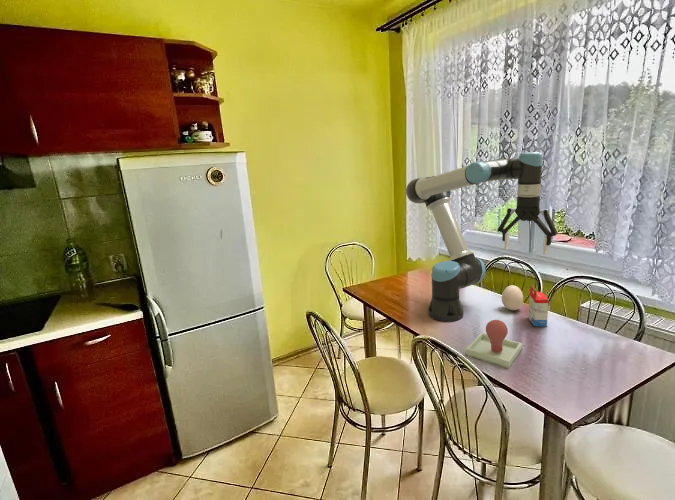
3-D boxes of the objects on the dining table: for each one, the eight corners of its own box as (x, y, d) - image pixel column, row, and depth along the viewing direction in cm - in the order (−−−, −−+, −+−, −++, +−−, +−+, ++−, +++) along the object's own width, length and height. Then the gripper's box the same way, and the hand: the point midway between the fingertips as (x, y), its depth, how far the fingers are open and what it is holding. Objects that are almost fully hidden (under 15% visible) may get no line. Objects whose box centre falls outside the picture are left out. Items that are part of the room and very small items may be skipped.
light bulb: (481, 347, 135) (482, 317, 132) (500, 344, 135) (501, 315, 132) (491, 357, 128) (492, 326, 125) (510, 355, 129) (512, 324, 125)
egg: (505, 304, 171) (506, 280, 168) (525, 308, 165) (527, 284, 162) (497, 310, 165) (498, 286, 162) (518, 315, 159) (519, 290, 156)
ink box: (547, 327, 148) (549, 292, 144) (533, 326, 149) (536, 292, 145) (540, 317, 156) (542, 285, 152) (527, 317, 157) (529, 284, 153)
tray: (465, 355, 132) (465, 348, 131) (481, 338, 142) (481, 332, 142) (508, 368, 122) (509, 361, 122) (521, 349, 133) (522, 343, 132)
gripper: (490, 196, 141) (488, 249, 146) (565, 197, 124) (560, 258, 130) (497, 193, 146) (495, 245, 152) (570, 194, 130) (565, 253, 135)
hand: (525, 251), depth 141 cm, fingers open, 13 cm apart
